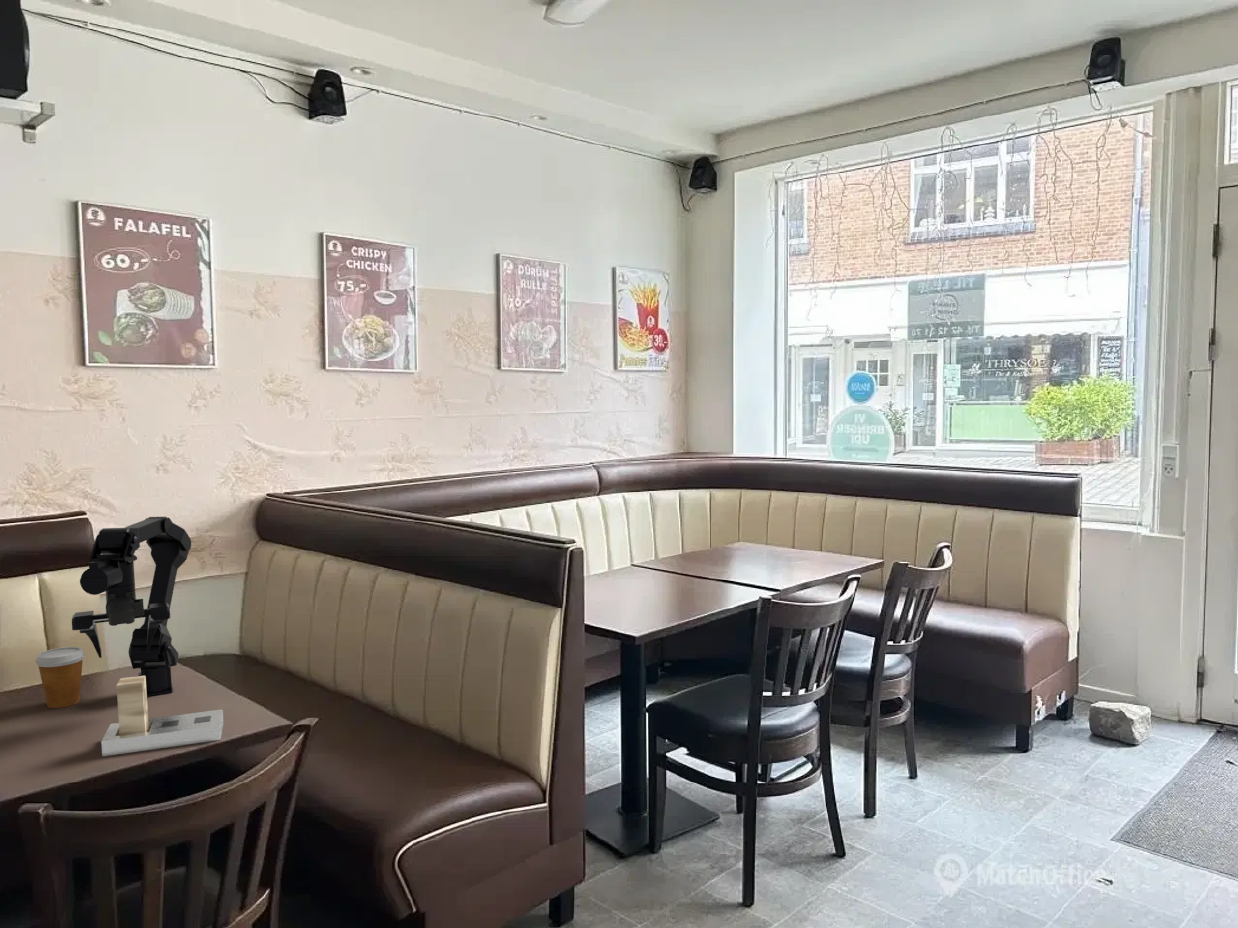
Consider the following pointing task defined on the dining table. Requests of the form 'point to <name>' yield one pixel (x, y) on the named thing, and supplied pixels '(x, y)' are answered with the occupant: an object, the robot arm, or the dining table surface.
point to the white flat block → (166, 733)
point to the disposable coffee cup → (61, 675)
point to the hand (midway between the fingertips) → (124, 654)
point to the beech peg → (132, 705)
